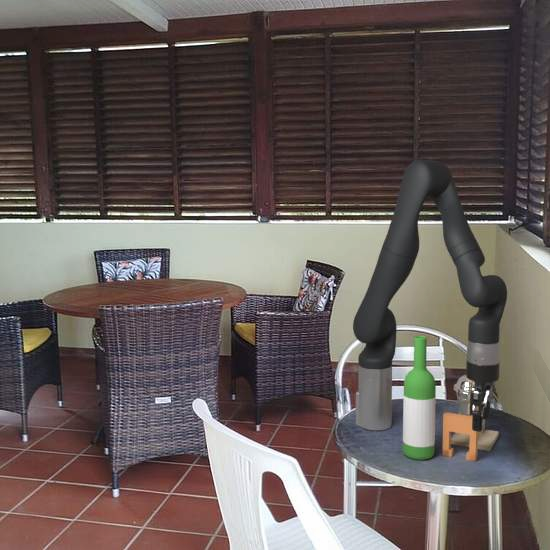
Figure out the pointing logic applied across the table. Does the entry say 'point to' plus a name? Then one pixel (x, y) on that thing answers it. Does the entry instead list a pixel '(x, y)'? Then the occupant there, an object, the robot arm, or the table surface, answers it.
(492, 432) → the hook stand
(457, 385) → the cup with straw
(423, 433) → the wine bottle
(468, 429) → the c link
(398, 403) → the table surface
